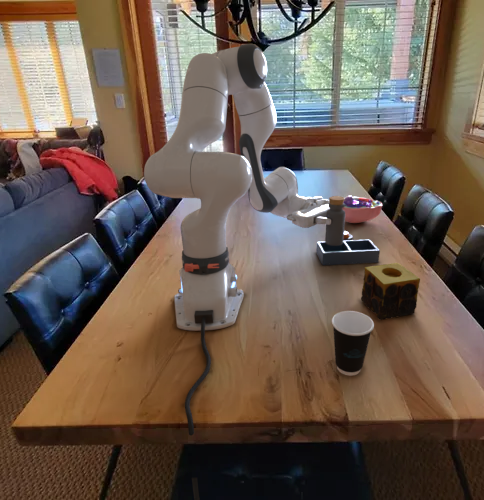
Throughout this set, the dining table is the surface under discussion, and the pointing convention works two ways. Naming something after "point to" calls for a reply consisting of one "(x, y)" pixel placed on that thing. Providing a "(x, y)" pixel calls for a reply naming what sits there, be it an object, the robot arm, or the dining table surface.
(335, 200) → the bottle
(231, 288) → the robot arm
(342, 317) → the dixie cup
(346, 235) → the button
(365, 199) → the cell model
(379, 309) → the candle
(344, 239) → the control block
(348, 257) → the tray
